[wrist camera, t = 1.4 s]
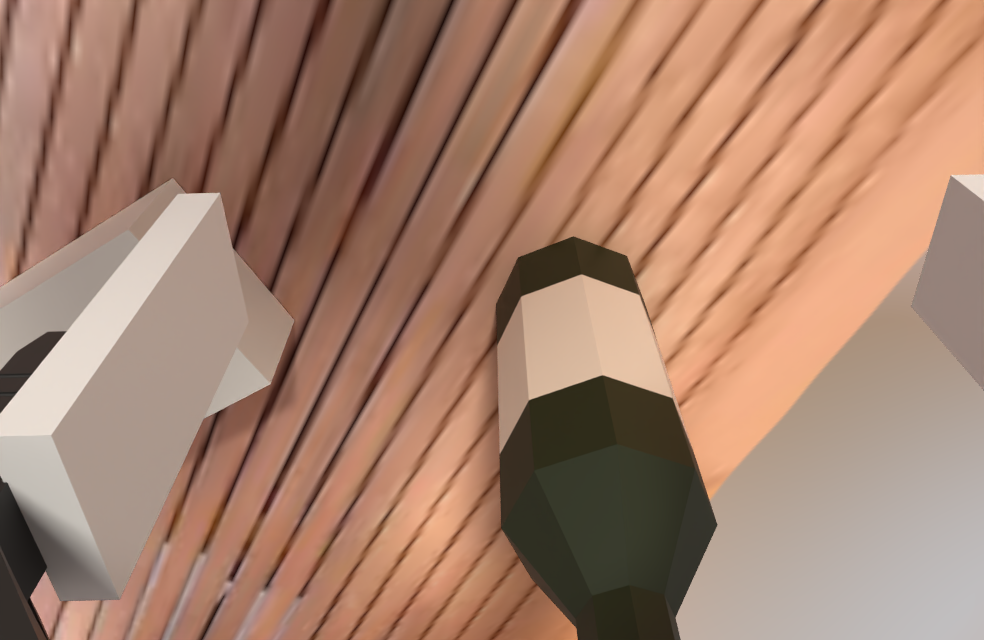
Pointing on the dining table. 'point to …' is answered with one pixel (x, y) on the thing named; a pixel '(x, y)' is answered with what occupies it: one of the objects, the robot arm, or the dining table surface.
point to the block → (89, 265)
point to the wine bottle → (595, 447)
